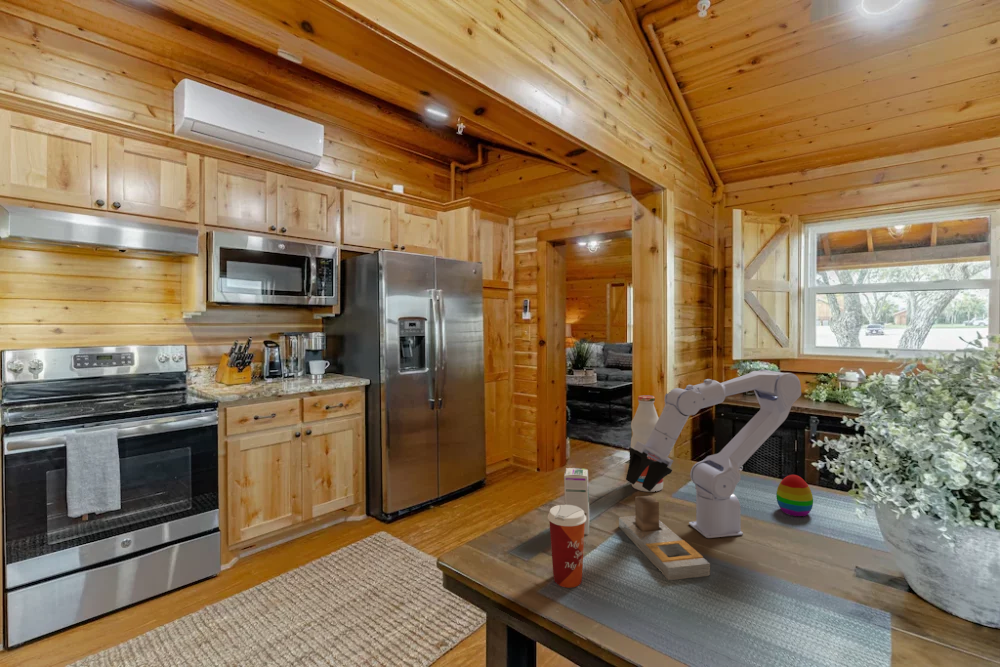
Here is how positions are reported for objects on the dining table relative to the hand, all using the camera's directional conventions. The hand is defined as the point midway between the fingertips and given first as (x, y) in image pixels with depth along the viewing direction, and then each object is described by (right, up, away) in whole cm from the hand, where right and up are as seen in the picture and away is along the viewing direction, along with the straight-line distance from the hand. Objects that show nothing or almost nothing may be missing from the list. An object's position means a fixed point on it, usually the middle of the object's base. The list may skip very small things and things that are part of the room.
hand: (637, 485), depth 110 cm
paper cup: (-19, -14, -17) cm, 29 cm away
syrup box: (-14, -13, +5) cm, 19 cm away
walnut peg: (+2, -12, +1) cm, 13 cm away
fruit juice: (+13, -11, +33) cm, 37 cm away
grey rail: (+3, -13, -5) cm, 14 cm away
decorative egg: (+45, -11, +12) cm, 48 cm away
